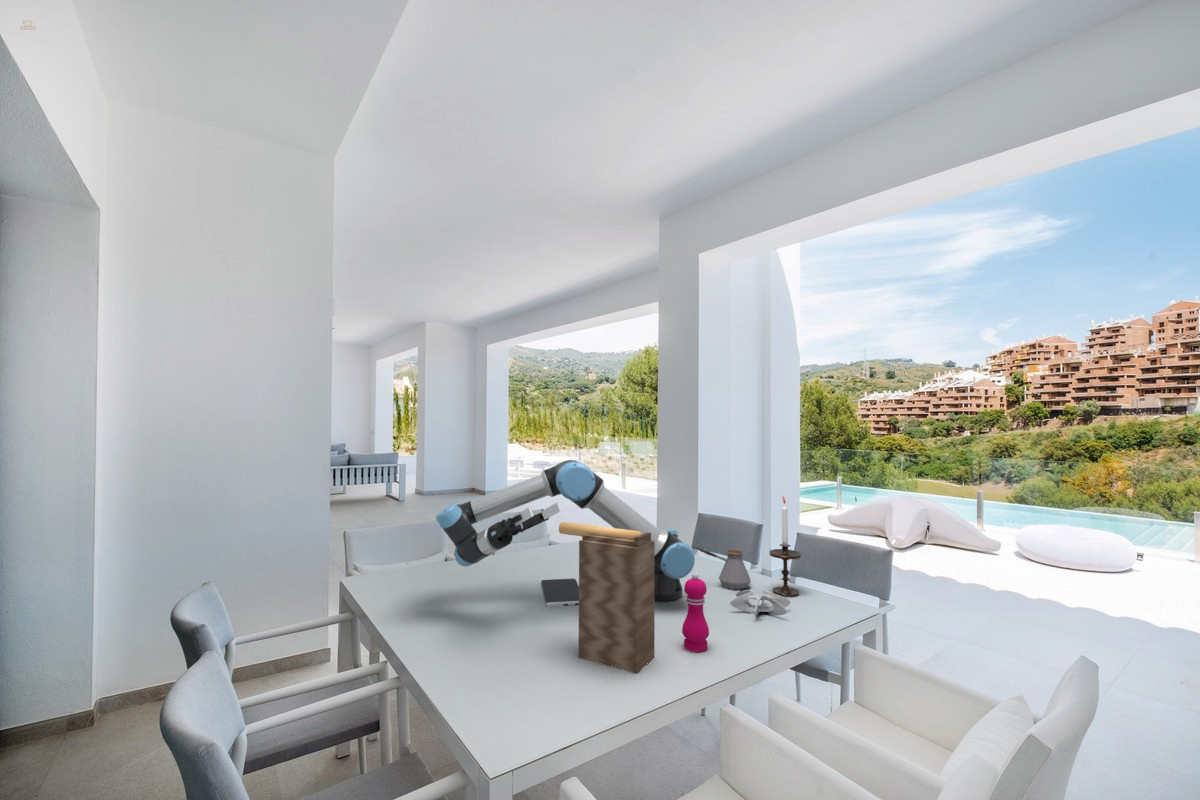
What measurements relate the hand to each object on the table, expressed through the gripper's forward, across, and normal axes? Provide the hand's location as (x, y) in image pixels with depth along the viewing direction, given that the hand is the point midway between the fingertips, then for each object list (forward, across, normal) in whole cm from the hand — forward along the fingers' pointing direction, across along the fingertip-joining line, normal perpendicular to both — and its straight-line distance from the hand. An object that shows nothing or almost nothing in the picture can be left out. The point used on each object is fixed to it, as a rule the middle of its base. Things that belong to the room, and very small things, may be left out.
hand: (545, 508), depth 152 cm
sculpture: (+25, -53, -54) cm, 80 cm away
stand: (+4, 0, -43) cm, 43 cm away
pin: (+13, +1, -14) cm, 19 cm away
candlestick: (+28, -78, -55) cm, 99 cm away
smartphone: (-34, -36, -23) cm, 54 cm away
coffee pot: (+9, -73, -44) cm, 86 cm away
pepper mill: (+17, -16, -50) cm, 56 cm away
